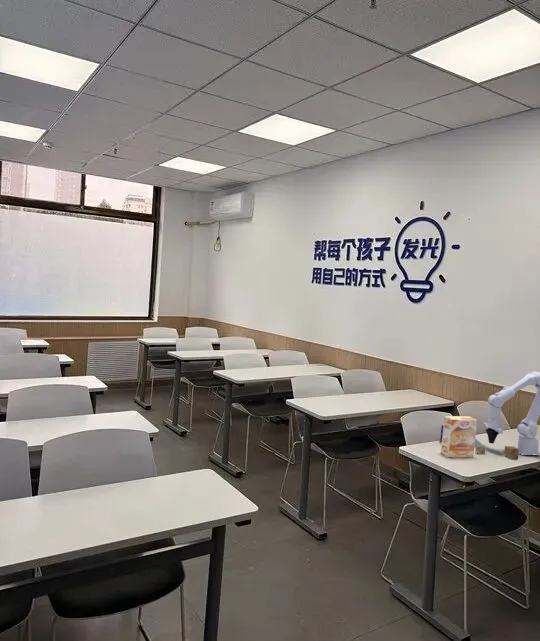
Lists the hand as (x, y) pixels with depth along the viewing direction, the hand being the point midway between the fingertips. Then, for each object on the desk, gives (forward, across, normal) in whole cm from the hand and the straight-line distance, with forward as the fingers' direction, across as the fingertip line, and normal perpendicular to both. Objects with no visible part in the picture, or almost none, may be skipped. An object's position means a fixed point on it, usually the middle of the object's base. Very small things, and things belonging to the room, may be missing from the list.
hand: (491, 443), depth 275 cm
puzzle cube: (+4, -13, -16) cm, 21 cm away
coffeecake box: (+4, +8, -24) cm, 26 cm away
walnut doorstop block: (+4, +11, +5) cm, 13 cm away
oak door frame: (+4, +5, -3) cm, 7 cm away
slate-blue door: (+4, -1, -6) cm, 7 cm away
